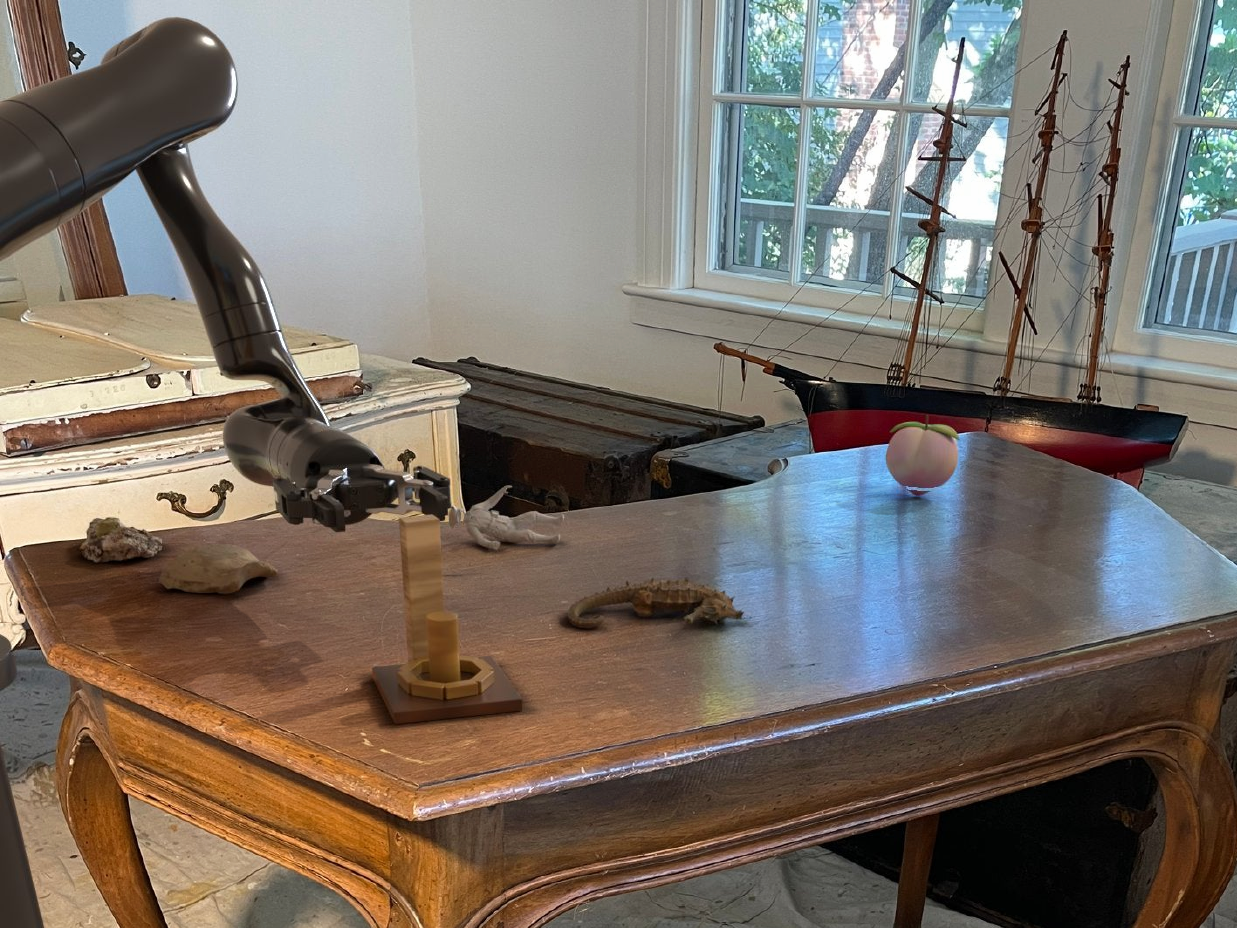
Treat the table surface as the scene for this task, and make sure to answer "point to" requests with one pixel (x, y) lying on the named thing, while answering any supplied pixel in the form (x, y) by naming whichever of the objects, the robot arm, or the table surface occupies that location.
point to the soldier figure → (502, 523)
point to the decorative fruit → (922, 455)
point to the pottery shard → (214, 569)
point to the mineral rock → (117, 541)
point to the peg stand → (444, 681)
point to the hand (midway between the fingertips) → (392, 514)
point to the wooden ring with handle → (426, 598)
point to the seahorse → (659, 601)
